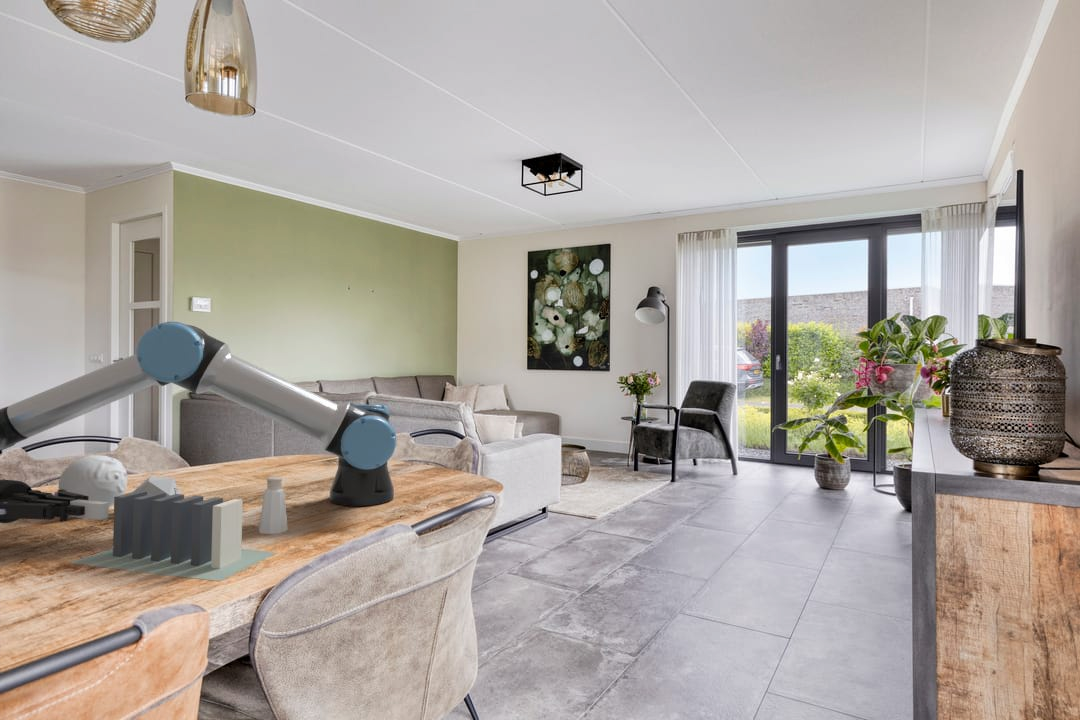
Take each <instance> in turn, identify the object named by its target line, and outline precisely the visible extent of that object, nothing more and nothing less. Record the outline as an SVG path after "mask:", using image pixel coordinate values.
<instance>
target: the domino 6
mask: <svg viewBox="0 0 1080 720" xmlns="http://www.w3.org/2000/svg"><path fill="white" fill-rule="evenodd" d="M243 502H244V501H243V499H239V498H238V499H237V498H234V499H230V500H227V501H223V503H221V504H217V505H214V506H213V520H212V558H211V568H219V569H220V568H222V567H224V566H227V565H229V564H231V563H233V562H235V561H237V560H239V559H241V549H242V539H243V537H242V536H243V505H244V504H243Z"/></svg>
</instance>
